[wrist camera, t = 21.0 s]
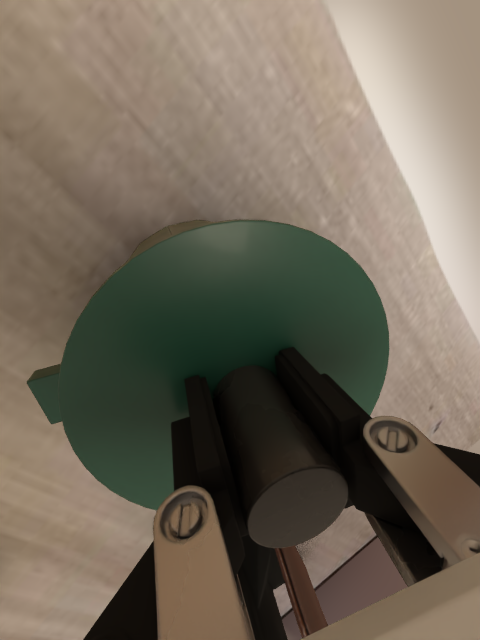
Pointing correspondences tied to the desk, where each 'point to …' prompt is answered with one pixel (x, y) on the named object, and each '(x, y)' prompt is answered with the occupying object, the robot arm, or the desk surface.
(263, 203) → the desk surface
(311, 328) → the lid
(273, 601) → the letter holder
